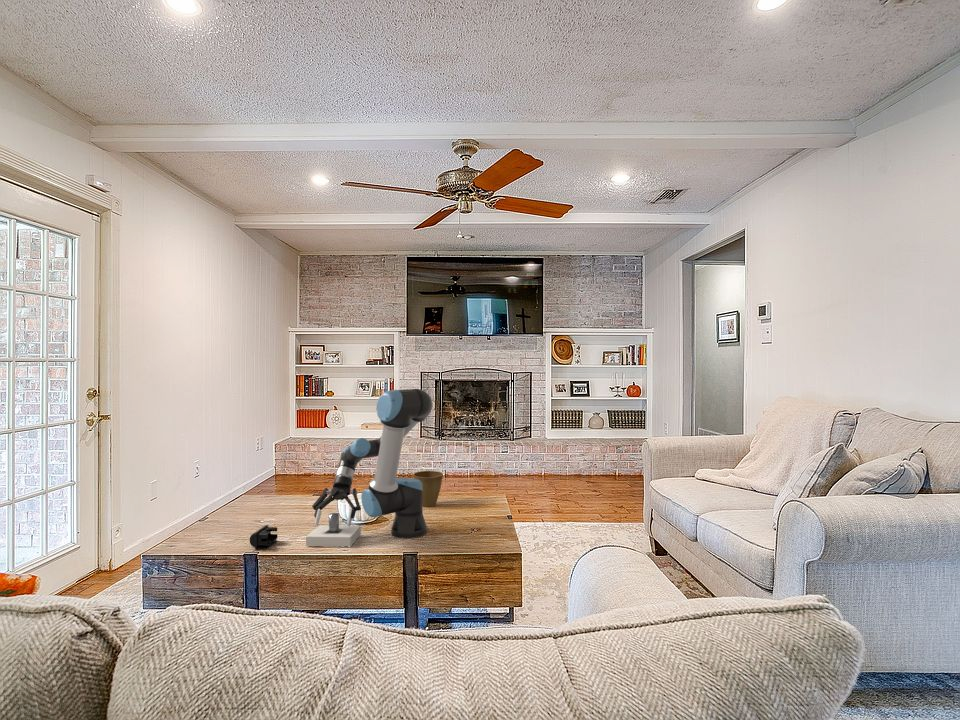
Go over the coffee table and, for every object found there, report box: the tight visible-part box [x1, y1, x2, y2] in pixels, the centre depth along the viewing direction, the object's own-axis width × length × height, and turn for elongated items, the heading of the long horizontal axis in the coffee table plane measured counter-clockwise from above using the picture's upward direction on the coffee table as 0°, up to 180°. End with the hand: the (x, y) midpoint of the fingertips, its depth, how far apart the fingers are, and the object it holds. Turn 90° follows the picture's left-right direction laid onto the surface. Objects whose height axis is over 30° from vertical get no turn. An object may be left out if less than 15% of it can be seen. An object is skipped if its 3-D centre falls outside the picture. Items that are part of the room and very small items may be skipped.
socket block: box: [305, 524, 362, 548], centre depth 219 cm, size 18×14×4 cm
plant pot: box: [412, 470, 444, 508], centre depth 270 cm, size 15×15×16 cm
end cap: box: [249, 524, 278, 550], centre depth 216 cm, size 10×7×7 cm
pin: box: [328, 512, 340, 534], centre depth 220 cm, size 4×4×11 cm
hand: (332, 525), depth 217 cm, fingers open, 13 cm apart
